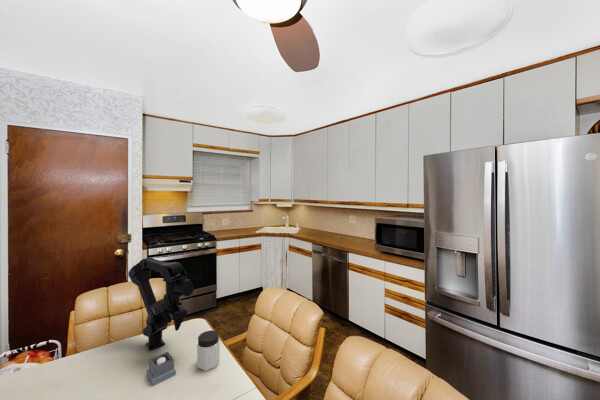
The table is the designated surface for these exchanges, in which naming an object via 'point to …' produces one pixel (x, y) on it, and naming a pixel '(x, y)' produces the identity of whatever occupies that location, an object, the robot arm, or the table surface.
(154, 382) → the shaft block
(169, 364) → the collar
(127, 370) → the table surface
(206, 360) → the jar
